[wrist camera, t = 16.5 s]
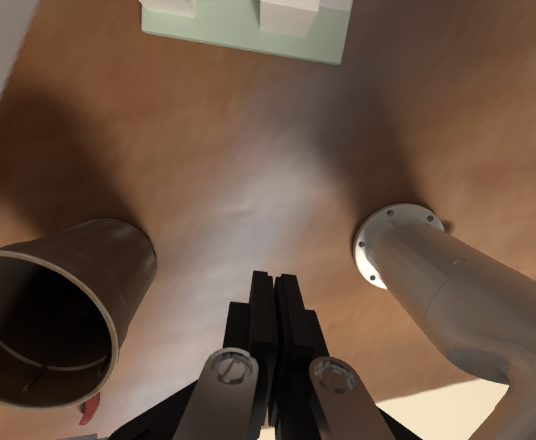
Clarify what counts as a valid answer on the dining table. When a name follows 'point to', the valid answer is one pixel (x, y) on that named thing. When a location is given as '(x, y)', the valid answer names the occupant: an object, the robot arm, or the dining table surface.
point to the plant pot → (68, 311)
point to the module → (288, 16)
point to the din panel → (249, 27)
